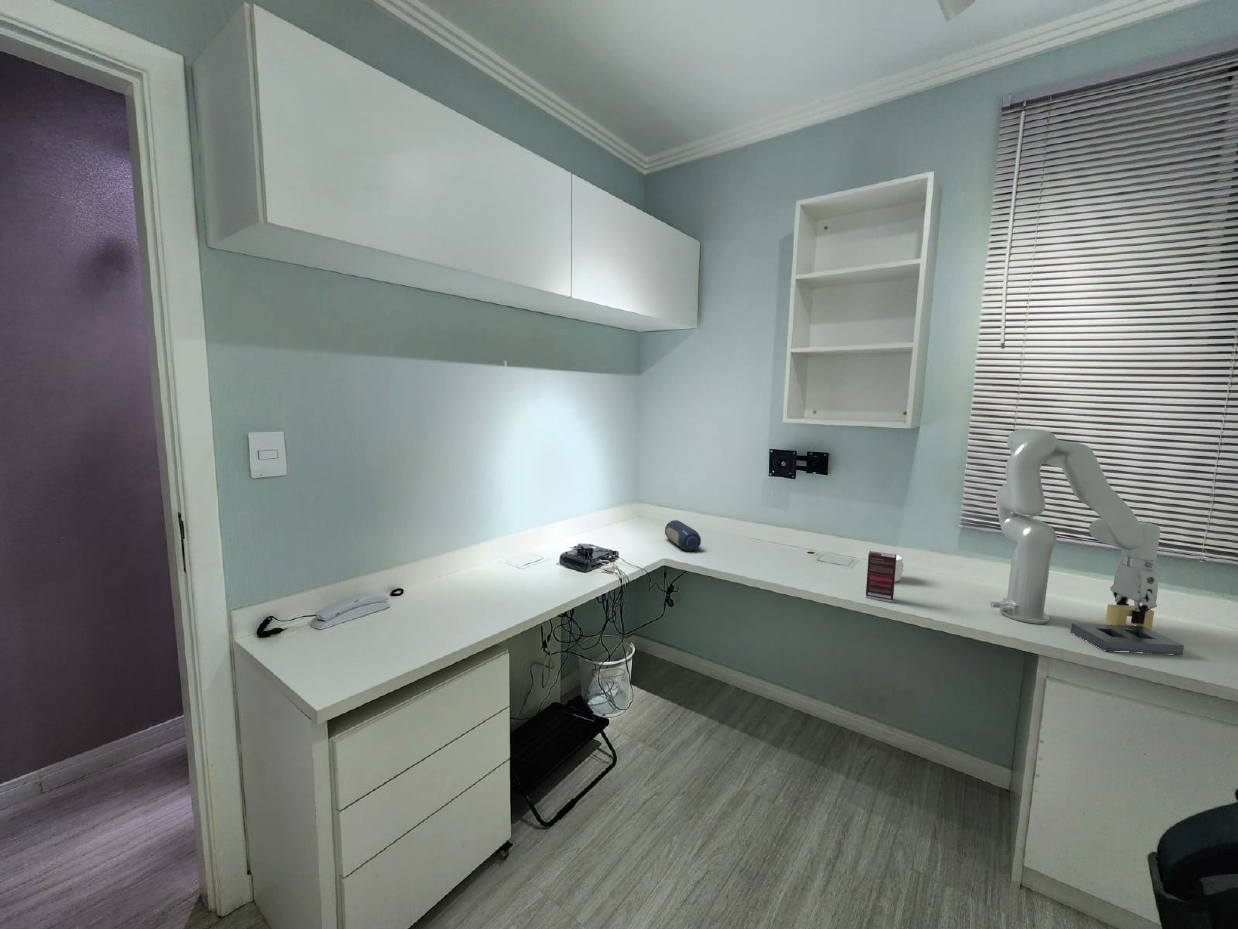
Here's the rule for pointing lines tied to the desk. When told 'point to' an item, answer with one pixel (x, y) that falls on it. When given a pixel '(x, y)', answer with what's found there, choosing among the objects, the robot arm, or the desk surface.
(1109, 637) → the grey slotted board
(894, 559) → the supplement box
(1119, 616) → the yellow u-shaped block
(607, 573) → the desk surface
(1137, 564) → the robot arm
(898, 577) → the mug
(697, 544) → the portable speaker
